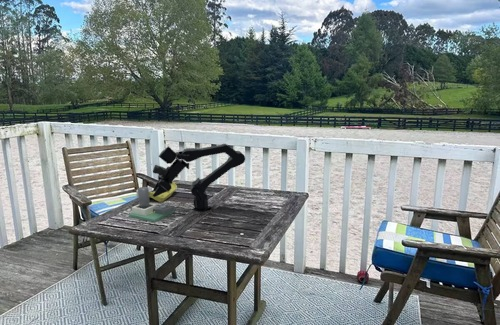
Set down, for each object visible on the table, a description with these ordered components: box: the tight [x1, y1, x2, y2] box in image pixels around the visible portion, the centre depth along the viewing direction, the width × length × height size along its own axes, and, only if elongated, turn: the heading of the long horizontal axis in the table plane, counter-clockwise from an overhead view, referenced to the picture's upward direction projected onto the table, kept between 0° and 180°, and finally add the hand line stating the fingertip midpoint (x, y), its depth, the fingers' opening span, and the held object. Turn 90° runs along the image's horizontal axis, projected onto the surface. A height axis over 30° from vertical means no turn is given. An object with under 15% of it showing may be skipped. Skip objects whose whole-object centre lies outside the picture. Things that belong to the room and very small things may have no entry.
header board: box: [128, 202, 175, 223], centre depth 180 cm, size 16×14×4 cm
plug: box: [135, 186, 151, 209], centre depth 179 cm, size 6×5×12 cm
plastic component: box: [149, 181, 178, 203], centre depth 208 cm, size 20×7×10 cm
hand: (153, 193), depth 180 cm, fingers open, 9 cm apart
